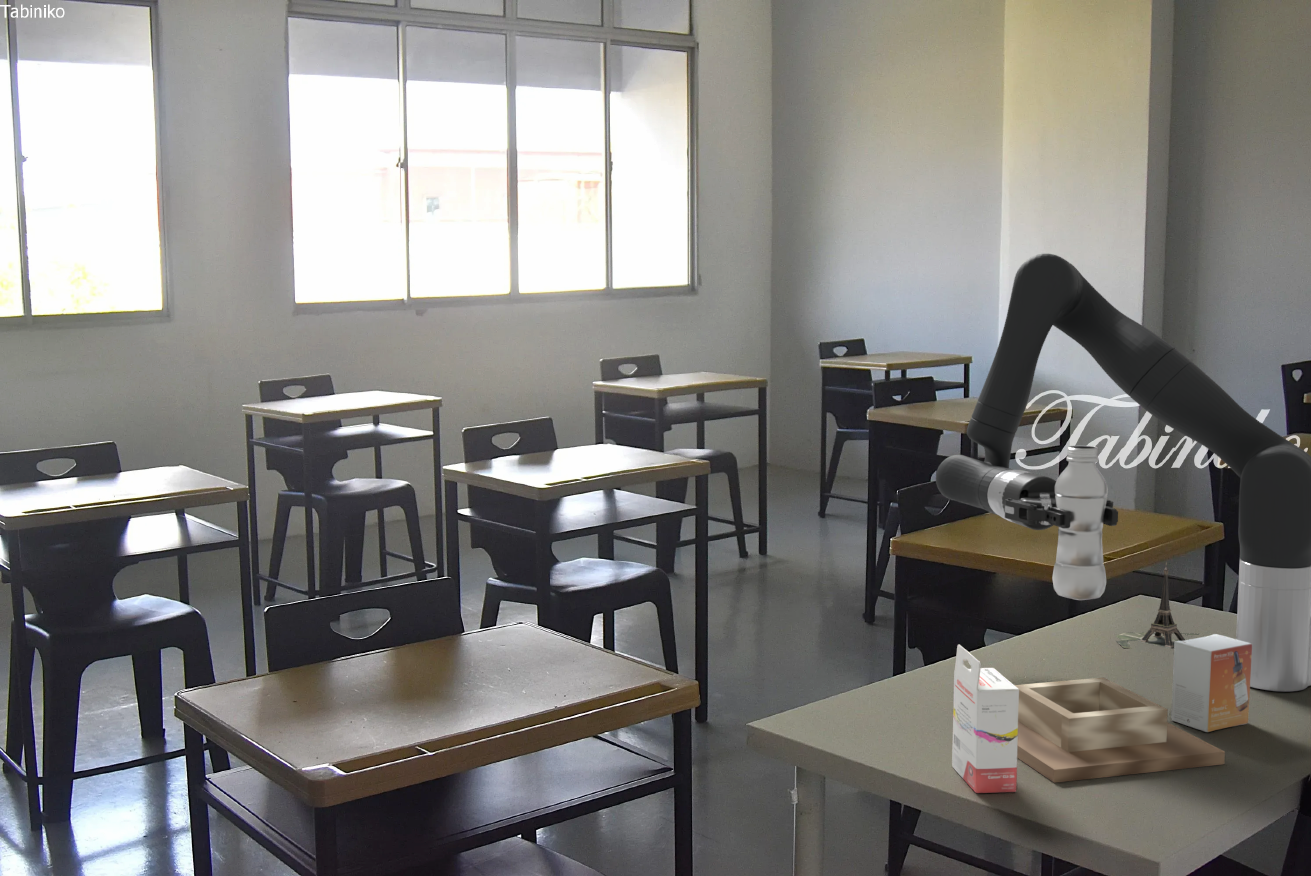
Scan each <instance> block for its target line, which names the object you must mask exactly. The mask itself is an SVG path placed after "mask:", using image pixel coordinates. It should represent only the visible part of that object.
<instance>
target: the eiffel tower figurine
mask: <svg viewBox="0 0 1311 876" xmlns="http://www.w3.org/2000/svg"><path fill="white" fill-rule="evenodd" d="M1167 563H1168V562H1167V561H1166V562H1165V568H1164V569H1163V581H1162V589H1161V591H1162V592H1161V598H1160V603H1159V604H1160V605H1159V607H1158V609H1157V614H1156V617H1155V619H1154V622H1152V623H1151V624H1150V626H1151V627H1150V628H1149V629H1148V630H1147V631H1146V632H1144V631H1143V632H1141V631H1139V632H1138V631H1135V632H1134V631H1132V632H1131V631H1130V632H1129V631H1128V632H1123V633H1120V634H1116V636H1115V637H1116V638H1117V639H1118V640H1115V642H1116V643H1117V644H1119V646H1121V647H1122V648H1124V649H1132V647H1131V643H1130V642H1135V641H1138V642H1139V643H1142V644H1143V643H1144V644H1147V645H1153V646H1157V647H1162V648H1167V649H1170V650H1171V649H1174V642H1175V641H1184V640H1186V638H1184V635H1182V634H1185V636H1188V635H1199V634H1200V632H1199V633H1198V634H1197V633H1195V634H1194V632H1191V633H1190V634H1189V632H1186V633H1185V632H1183V633H1182V632H1181V631H1180V630H1179V629H1178V623H1175V622H1174V619H1173V616H1172V609H1171V606H1170V598H1169V597H1170V596H1169V595H1170V594H1169V577H1168V576H1169V568H1168V567H1167ZM1186 634H1187V635H1186ZM1173 635H1174V636H1175V637H1176V638H1177V639H1175V638H1172V636H1173Z"/></svg>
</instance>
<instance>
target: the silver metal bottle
mask: <svg viewBox="0 0 1311 876" xmlns="http://www.w3.org/2000/svg"><path fill="white" fill-rule="evenodd" d="M1066 461H1067V462H1068V464H1067V466H1066V467H1065V468H1064V470H1063V471H1062V472H1060V474H1059V476H1058V477H1057V479H1056V480H1055V481H1056V484H1055V494H1056V495H1055V498H1056V505H1057V508H1060V509H1063V510H1066V511H1069V512H1070V514H1071V519H1070V528H1061V527H1058V531H1057V534H1058V536H1057V537H1058V540H1057V549H1056V557H1055V558H1056V559H1055V562H1054V566H1053V571H1052V575H1051V576H1052V583H1053V585H1052V586H1053V590H1054V591H1055V592H1056V595H1058V596H1060V597H1064V598H1067V599H1072V600H1076V601H1085V600H1086V601H1087V600H1095V599H1099V598H1101V596H1102V595H1103V594H1104V593H1105V590H1106V585H1107V575H1106V568H1105V565H1104V551H1103V549H1104V548H1103V528H1104V524H1103V518H1104V512H1105V506H1106V501H1107V500H1108V495H1109V494H1108V493H1109V487H1108V484H1107V481H1106V479H1105V477H1104V475H1103V474H1102V473H1101V471H1100V470H1099V468H1098V467H1097V464H1096V463H1098V462H1099V447H1098V446H1094V445H1068V447H1067V455H1066Z"/></svg>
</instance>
